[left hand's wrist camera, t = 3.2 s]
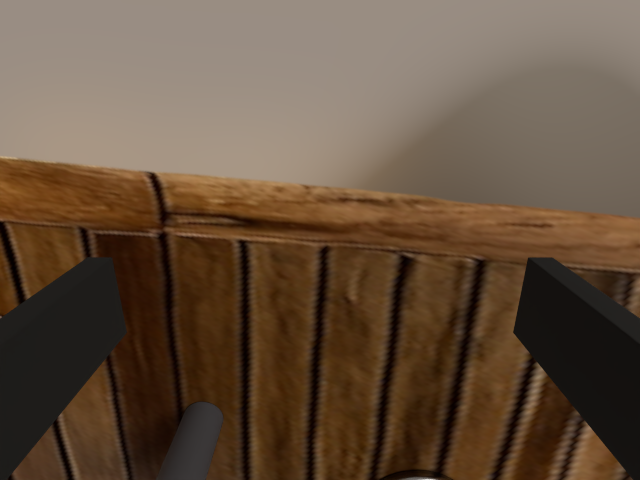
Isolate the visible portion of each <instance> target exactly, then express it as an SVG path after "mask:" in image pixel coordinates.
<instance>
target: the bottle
mask: <svg viewBox="0 0 640 480" xmlns="http://www.w3.org/2000/svg"><path fill="white" fill-rule="evenodd" d="M222 423H223V414H222V412H221V411H220V409H219V408H218V407H216V406H215V405H213V404H211V403H207V402H197V403H194V404H191V405H190V406H189V407H188V408H187V409H186V410H185V413H184V415H183V417H182V420H181V422H180V424H179V427H178V429H177V431H176V434H175V436H174V438H173V441H172V443H171V445H170V448H169V450H168V452H167V455H166V457H165V459H164V462H163V464H162V466H161V469H160V471H159V473H158V476H157V478H156V480H206V477H207V473H208V470H209V467H210V463H211V460H212V457H213V453H214V450H215V447H216V443H217V440H218V437H219V433H220V430H221V426H222Z"/></svg>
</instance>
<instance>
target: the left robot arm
mask: <svg viewBox="0 0 640 480" xmlns="http://www.w3.org/2000/svg"><path fill="white" fill-rule="evenodd" d="M126 333H127V331H126V326H125V321H124V316H123V311H122V306H121V301H120V296H119V291H118V286H117V281H116V276H115V271H114V266H113V261H112V258H86V259H85V260H83V261H82V262H81V263H79V264H78V265H76V266H75V267H73V268H72V269H70V270H69V271H68V272H66V273H65V274H63V275H62V276H60V277H59V278H58V279H56V280H55V281H53V282H52V283H50V284H49V285H48V286H46V287H45V288H43V289H42V290H40V291H39V292H37V293H36V294H35V295H33V296H32V297H30V298H29V299H27V300H26V301H25V302H23V303H22V304H20V305H19V306H17V307H16V308H14V309H13V310H12V311H10V312H9V313H7V314H6V315H4V316H3V317H2V318H0V480H7V479H8V477H9V476H10V475H11V474H12V473H13V471H14V470H15V469H16V468H17V466H18V465H19V464H20V463H21V462H22V460H23V459H24V458H25V457H26V455H27V454H28V453H29V452H30V451H31V449H32V448H33V447H34V446H35V444H36V443H37V442H38V441H39V439H40V438H41V437H42V436H43V435H44V433H45V432H46V431H47V430H48V428H49V427H50V426H51V425H52V424H53V422H54V421H55V420H56V419H57V417H58V416H59V415H60V414H61V413H62V411H63V410H64V409H65V408H66V406H67V405H68V404H69V403H70V401H71V400H72V399H73V398H74V397H75V395H76V394H77V393H78V392H79V390H80V389H81V388H82V387H83V386H84V384H85V383H86V382H87V381H88V379H89V378H90V377H91V376H92V375H93V373H94V372H95V371H96V370H97V368H98V367H99V366H100V365H101V363H102V362H103V361H104V360H105V359H106V357H107V356H108V355H109V354H110V352H111V351H112V350H113V349H114V348H115V346H116V345H117V344H118V343H119V341H120V340H121V339H122V338H123V337H124V335H125V334H126ZM513 333H514V334H515V335H516V337H517V338H518V339H519V340H520V341H521V343H522V344H523V345H524V346H525V348H526V349H527V350H528V351H529V352H530V354H531V355H532V356H533V357H534V359H535V360H536V361H537V362H538V363H539V365H540V366H541V367H542V368H543V370H544V371H545V372H546V373H547V375H548V376H549V377H550V378H551V379H552V381H553V382H554V383H555V384H556V386H557V387H558V388H559V389H560V390H561V392H562V393H563V394H564V395H565V397H566V398H567V399H568V400H569V401H570V403H571V404H572V405H573V406H574V408H575V409H576V410H577V411H578V413H579V414H580V415H581V416H582V417H583V419H584V420H585V421H586V422H587V424H588V425H589V426H590V427H591V428H592V430H593V431H594V432H595V433H596V435H597V436H598V437H599V438H600V439H601V441H602V442H603V443H604V444H605V446H606V447H607V448H608V449H609V451H610V452H611V453H612V454H613V455H614V457H615V458H616V459H617V460H618V462H619V463H620V464H621V465H622V466H623V468H624V469H625V470H626V471H627V473H628V474H629V475H630V476H631V477H632V479H633V480H640V318H638V317H637V316H636V315H634V314H633V313H631V312H630V311H628V310H627V309H626V308H624V307H623V306H621V305H620V304H618V303H617V302H615V301H614V300H613V299H611V298H610V297H608V296H607V295H605V294H604V293H603V292H601V291H600V290H598V289H597V288H595V287H594V286H592V285H591V284H590V283H588V282H587V281H585V280H584V279H582V278H581V277H580V276H578V275H577V274H575V273H574V272H572V271H571V270H570V269H568V268H567V267H565V266H564V265H562V264H561V263H559V262H558V261H557V260H555V259H554V258H528V261H527V266H526V271H525V276H524V281H523V286H522V291H521V296H520V301H519V306H518V311H517V316H516V321H515V326H514V331H513ZM382 480H452V479H451V478H449V477H447V476H445V475H442V474H440V473H436V472H431V471H424V470H413V471H405V472H400V473H396V474H393V475H391V476H388V477H386V478H384V479H382Z"/></svg>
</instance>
